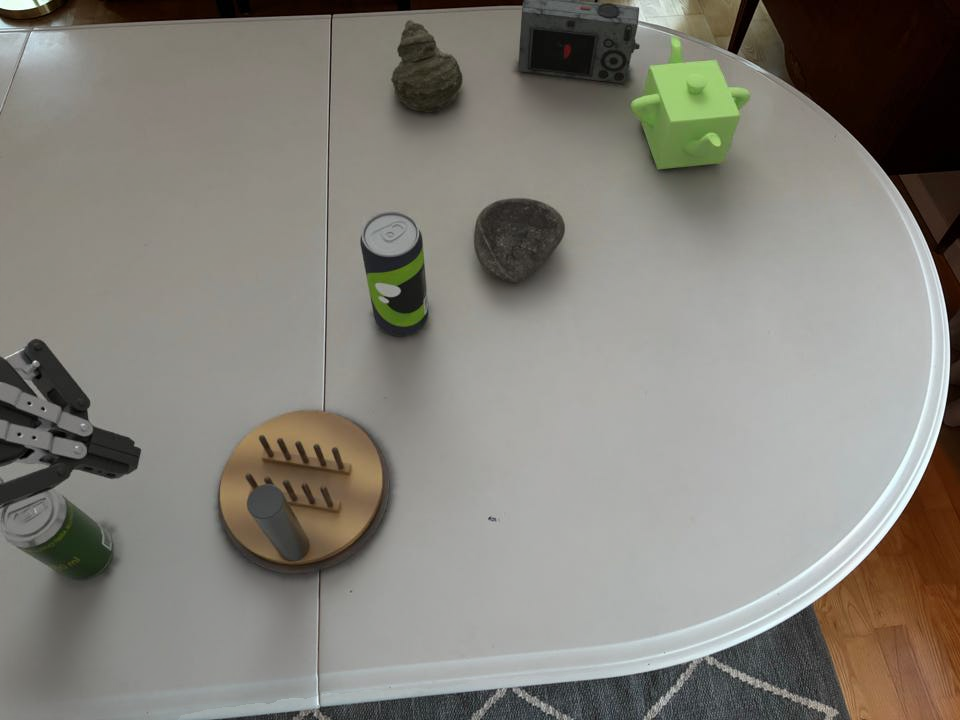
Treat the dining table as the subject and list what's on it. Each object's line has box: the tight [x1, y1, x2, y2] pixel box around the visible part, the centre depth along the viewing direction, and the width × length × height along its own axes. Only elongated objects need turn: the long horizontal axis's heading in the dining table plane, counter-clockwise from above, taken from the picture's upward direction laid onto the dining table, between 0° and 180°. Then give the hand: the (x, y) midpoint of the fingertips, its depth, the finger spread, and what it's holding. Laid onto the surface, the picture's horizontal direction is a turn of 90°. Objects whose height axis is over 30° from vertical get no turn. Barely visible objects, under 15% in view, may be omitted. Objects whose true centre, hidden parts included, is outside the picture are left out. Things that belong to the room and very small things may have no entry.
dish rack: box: [220, 409, 383, 565], centre depth 74 cm, size 16×16×13 cm
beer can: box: [0, 488, 114, 581], centre depth 72 cm, size 5×5×12 cm
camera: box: [517, 0, 641, 84], centre depth 109 cm, size 16×4×10 cm, turn 81°
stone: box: [473, 197, 566, 283], centre depth 94 cm, size 11×11×5 cm
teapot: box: [630, 35, 751, 170], centre depth 101 cm, size 15×13×11 cm
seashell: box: [390, 19, 463, 114], centre depth 106 cm, size 11×12×10 cm
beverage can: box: [359, 210, 429, 337], centre depth 85 cm, size 6×6×15 cm
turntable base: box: [217, 413, 390, 575], centre depth 80 cm, size 17×17×1 cm
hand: (134, 461), depth 58 cm, fingers closed
